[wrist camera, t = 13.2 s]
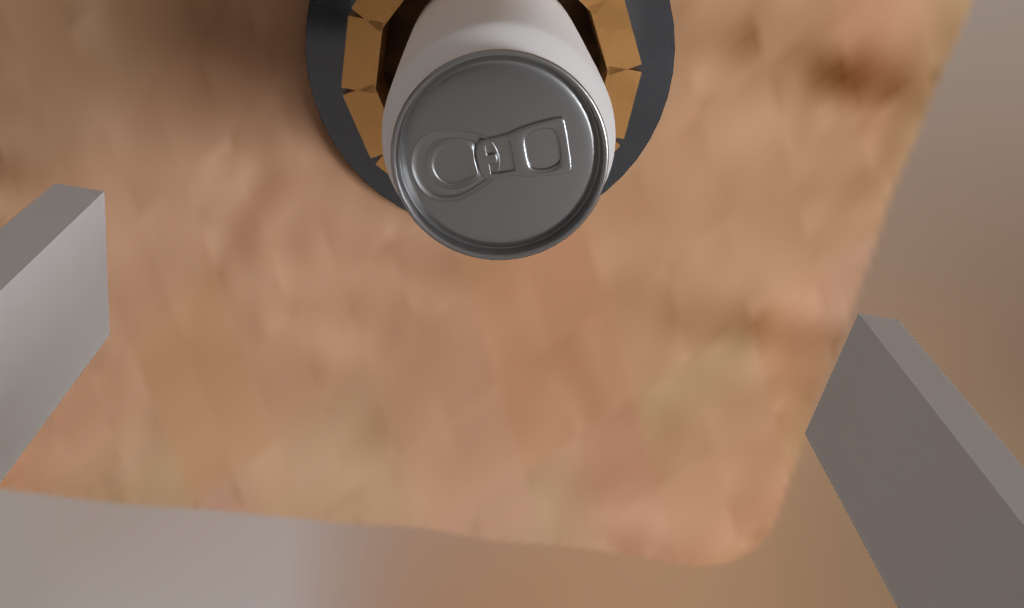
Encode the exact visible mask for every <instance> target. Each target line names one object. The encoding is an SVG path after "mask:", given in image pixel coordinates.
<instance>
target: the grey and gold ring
mask: <svg viewBox="0 0 1024 608" xmlns="http://www.w3.org/2000/svg"><path fill="white" fill-rule="evenodd" d="M429 1H430V0H310V3H309V10H308V17H307V24H306V60H307V69H308V77H309V81H310V85H311V89H312V93H313V97H314V101H315V104H316V106H317V109H318V111H319V114H320V116H321V119H322V122H323V124H324V126H325V128H326V129H327V131H328V133H329V135H330V137H331V139H332V141H333V142H334V144H335V146H336V147H337V148H338V150H339V151H340V153H341V154H342V155H343V157H344V158H345V160H346V161H347V162H348V164H349V165H350V166H351V167H352V168H353V169H354V170H355V171H356V172H357V173H358V174H359V176H360V177H361V178H362V179H363V180H364V181H365V182H367V183H368V184H369V185H370V186H371V187H372V188H374V189H375V190H376V191H377V192H378V193H379V194H381V195H382V196H384V197H385V198H387V199H388V200H390V201H391V202H393V203H394V204H396V205H397V206H399V207H400V208H402V209H404V210H406V208H405V207H404V205H403V203H402V201H401V199H400V197H399V195H398V194H397V192H396V190H395V188H394V186H393V184H392V182H391V180H390V177H389V175H388V172H387V169H386V165H385V161H384V156H383V150H382V120H383V113H384V108H385V104H386V100H387V97H388V94H389V91H390V88H391V85H392V82H393V79H394V76H395V74H396V71H397V68H398V66H399V63H400V60H401V58H402V55H403V53H404V50H405V47H406V45H407V42H408V40H409V37H410V35H411V32H412V30H413V28H414V26H415V23H416V21H417V19H418V17H419V16H420V14H421V12H422V11H423V9H424V8H425V6H426V5H427V4H428V3H429ZM558 1H559V3H560V4H561V5H562V6H563V8H564V9H565V11H566V12H567V14H568V15H569V17H570V18H571V20H572V22H573V24H574V26H575V27H576V29H577V31H578V33H579V35H580V37H581V38H582V40H583V42H584V44H585V46H586V48H587V50H588V52H589V54H590V56H591V58H592V60H593V62H594V64H595V65H596V67H597V69H598V72H599V74H600V76H601V78H602V80H603V82H604V84H605V87H606V89H607V92H608V95H609V97H610V100H611V104H612V108H613V113H614V119H615V130H616V142H615V152H614V158H613V162H612V166H611V169H610V172H609V175H608V178H607V180H606V182H605V184H604V187H603V190H602V193H601V194H603V193H604V192H605V191H607V190H608V189H609V188H610V187H611V186H612V185H613V184H614V183H615V182H616V181H618V180H619V179H620V178H621V177H622V176H623V175H624V174H625V172H626V171H627V170H628V169H629V168H630V167H631V165H632V164H633V163H634V162H635V161H636V160H637V158H638V157H639V155H640V154H641V152H642V151H643V149H644V148H645V146H646V145H647V143H648V142H649V140H650V138H651V136H652V134H653V132H654V130H655V128H656V126H657V124H658V122H659V120H660V117H661V115H662V112H663V109H664V106H665V103H666V100H667V98H668V93H669V89H670V84H671V79H672V75H673V65H674V53H675V41H674V23H673V17H672V12H671V6H670V0H558ZM406 211H407V210H406Z"/></svg>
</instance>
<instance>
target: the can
mask: <svg viewBox="0 0 1024 608" xmlns="http://www.w3.org/2000/svg"><path fill="white" fill-rule="evenodd" d="M615 142H616V130H615V119H614V113H613V108H612V104H611V100H610V97H609V95H608V92H607V89H606V87H605V84H604V82H603V80H602V78H601V76H600V74H599V72H598V69H597V67H596V65H595V64H594V62H593V60H592V58H591V56H590V54H589V52H588V50H587V48H586V46H585V44H584V42H583V40H582V38H581V37H580V35H579V33H578V31H577V29H576V27H575V26H574V24H573V22H572V20H571V18H570V17H569V15H568V14H567V12H566V11H565V9H564V8H563V6H562V5H561V4H560V3H559V1H558V0H430V1H429V3H428V4H427V5H426V6H425V8H424V9H423V11H422V12H421V14H420V16H419V17H418V19H417V21H416V23H415V26H414V28H413V30H412V32H411V35H410V37H409V40H408V42H407V45H406V47H405V50H404V53H403V55H402V58H401V60H400V63H399V66H398V68H397V71H396V74H395V76H394V79H393V82H392V85H391V88H390V91H389V94H388V97H387V100H386V104H385V108H384V113H383V120H382V150H383V156H384V161H385V165H386V169H387V172H388V175H389V177H390V180H391V182H392V184H393V186H394V188H395V190H396V192H397V194H398V195H399V197H400V199H401V201H402V203H403V205H404V207H405V208H406V210H407V211H408V213H409V214H410V216H411V217H412V218H413V220H414V221H415V222H416V223H417V224H418V225H419V226H420V227H421V228H422V229H423V230H424V231H425V232H426V233H427V234H428V235H429V236H431V237H432V238H433V239H435V240H436V241H438V242H439V243H441V244H442V245H444V246H446V247H448V248H450V249H452V250H454V251H456V252H459V253H462V254H464V255H468V256H471V257H476V258H481V259H489V260H510V259H518V258H523V257H527V256H531V255H534V254H537V253H540V252H542V251H545V250H547V249H549V248H551V247H553V246H555V245H557V244H558V243H560V242H561V241H563V240H564V239H566V238H567V237H568V236H570V235H571V234H572V233H573V232H574V231H575V230H576V229H577V228H578V227H579V226H580V225H581V224H582V223H583V222H584V221H585V220H586V218H587V217H588V216H589V214H590V213H591V212H592V210H593V208H594V207H595V205H596V203H597V201H598V199H599V197H600V195H601V193H602V190H603V187H604V184H605V182H606V180H607V178H608V175H609V172H610V169H611V166H612V162H613V158H614V152H615Z"/></svg>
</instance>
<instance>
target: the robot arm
mask: <svg viewBox="0 0 1024 608" xmlns="http://www.w3.org/2000/svg"><path fill="white" fill-rule="evenodd" d="M109 335H110V333H109V306H108V279H107V252H106V226H105V199H104V191H99V190H93V189H87V188H80V187H74V186H68V185H62V184H56V183H55V184H54V185H52V186H51V187H50V188H49V189H48V190H46V191H45V192H44V193H43V194H42V195H40V196H39V197H38V198H37V199H36V200H34V201H33V202H32V203H31V204H29V205H28V206H27V207H26V208H25V209H23V210H22V211H21V212H20V213H19V214H17V215H16V216H15V217H14V218H13V219H11V220H10V221H9V222H8V223H7V224H5V225H4V226H3V227H2V228H1V229H0V483H1V481H2V480H3V478H4V477H5V476H6V474H7V473H8V472H9V470H10V469H11V468H12V466H13V465H14V464H15V462H16V461H17V459H18V458H19V457H20V455H21V454H22V453H23V451H24V450H25V449H26V447H27V446H28V445H29V443H30V442H31V441H32V439H33V438H34V436H35V435H36V434H37V432H38V431H39V430H40V428H41V427H42V426H43V424H44V423H45V422H46V420H47V419H48V417H49V416H50V415H51V413H52V412H53V411H54V409H55V408H56V407H57V405H58V404H59V403H60V401H61V400H62V398H63V397H64V396H65V394H66V393H67V392H68V390H69V389H70V388H71V386H72V385H73V384H74V382H75V381H76V380H77V378H78V377H79V375H80V374H81V373H82V371H83V370H84V369H85V367H86V366H87V365H88V363H89V362H90V361H91V359H92V358H93V356H94V355H95V354H96V352H97V351H98V350H99V348H100V347H101V346H102V344H103V343H104V342H105V340H106V339H107V338H108V336H109ZM805 435H806V437H807V438H808V440H809V442H810V444H811V446H812V448H813V450H814V451H815V453H816V455H817V457H818V459H819V461H820V463H821V464H822V466H823V468H824V470H825V472H826V474H827V476H828V478H829V480H830V481H831V483H832V485H833V487H834V489H835V491H836V493H837V494H838V496H839V498H840V500H841V502H842V504H843V506H844V508H845V510H846V511H847V513H848V515H849V517H850V519H851V521H852V523H853V525H854V526H855V528H856V530H857V532H858V534H859V536H860V538H861V539H862V541H863V543H864V545H865V547H866V549H867V550H868V553H869V555H870V556H871V558H872V560H873V562H874V564H875V566H876V568H877V569H878V571H879V573H880V575H881V577H882V579H883V581H884V582H885V584H886V586H887V588H888V590H889V592H890V594H891V596H892V597H893V599H894V601H895V603H896V605H897V607H898V608H1024V467H1023V466H1022V465H1021V464H1020V463H1019V462H1018V460H1017V459H1016V458H1015V457H1014V456H1013V454H1012V453H1011V452H1010V451H1009V450H1008V448H1007V447H1006V446H1005V445H1004V444H1003V443H1002V442H1001V440H1000V439H999V438H998V437H997V435H996V434H995V433H994V432H993V431H992V430H991V428H990V427H989V426H988V425H987V424H986V423H985V421H984V420H983V419H982V418H981V417H980V415H979V414H978V413H977V412H976V411H975V410H974V408H973V407H972V406H971V405H970V404H969V403H968V401H967V400H966V399H965V398H964V397H963V395H962V394H961V393H960V392H959V391H958V390H957V388H956V387H955V386H954V385H953V384H952V382H951V381H950V380H949V379H948V378H947V377H946V376H945V374H944V373H943V372H942V371H941V370H940V368H939V367H938V366H937V365H936V364H935V362H934V361H933V360H932V359H931V358H930V357H929V355H928V354H926V352H925V351H924V349H923V348H922V347H921V346H920V345H919V344H918V343H917V341H916V340H915V339H914V338H913V336H911V334H910V333H909V332H908V331H907V329H906V328H905V327H904V326H903V325H902V324H901V322H900V321H899V320H897V319H892V318H886V317H879V316H873V315H867V314H861V313H858V316H857V318H856V320H855V322H854V325H853V327H852V329H851V331H850V334H849V336H848V338H847V340H846V343H845V345H844V347H843V349H842V352H841V354H840V356H839V358H838V361H837V363H836V365H835V367H834V370H833V372H832V374H831V376H830V379H829V381H828V383H827V385H826V388H825V390H824V392H823V394H822V397H821V399H820V401H819V403H818V406H817V408H816V410H815V412H814V415H813V417H812V419H811V421H810V424H809V426H808V428H807V430H806V433H805Z"/></svg>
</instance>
